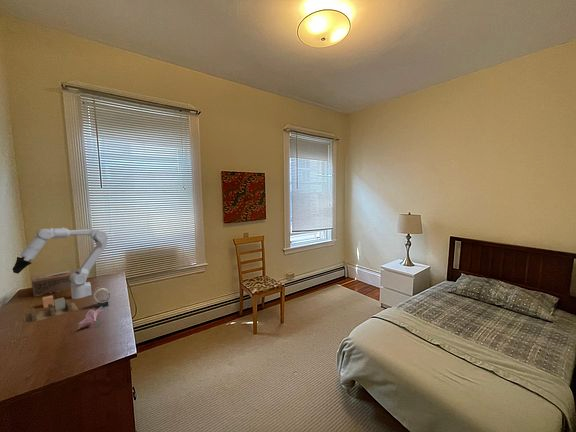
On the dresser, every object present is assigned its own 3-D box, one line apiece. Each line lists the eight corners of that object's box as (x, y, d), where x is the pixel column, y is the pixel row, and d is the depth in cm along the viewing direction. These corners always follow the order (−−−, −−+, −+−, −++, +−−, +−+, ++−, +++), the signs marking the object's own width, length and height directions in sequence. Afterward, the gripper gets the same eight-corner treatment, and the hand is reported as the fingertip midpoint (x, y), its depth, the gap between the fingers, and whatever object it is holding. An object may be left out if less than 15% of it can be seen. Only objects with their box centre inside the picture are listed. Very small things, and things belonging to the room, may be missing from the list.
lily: (108, 319, 124) (98, 304, 123) (114, 317, 117) (103, 301, 116) (82, 337, 115) (70, 321, 114) (86, 336, 107) (74, 319, 107)
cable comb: (73, 304, 140) (73, 297, 140) (78, 311, 132) (78, 304, 131) (23, 317, 125) (22, 310, 125) (25, 326, 116) (24, 318, 116)
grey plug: (64, 307, 134) (63, 297, 133) (65, 309, 131) (64, 299, 131) (54, 310, 131) (53, 299, 130) (55, 312, 128) (54, 301, 128)
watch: (112, 306, 137) (111, 288, 136) (94, 311, 131) (93, 291, 130) (111, 303, 141) (110, 285, 140) (94, 307, 135) (92, 289, 135)
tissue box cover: (82, 281, 180) (81, 268, 179) (86, 285, 171) (85, 272, 170) (32, 291, 161) (31, 277, 160) (34, 297, 151) (32, 282, 151)
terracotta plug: (53, 305, 139) (52, 295, 139) (54, 307, 137) (53, 297, 136) (43, 307, 136) (42, 297, 136) (44, 309, 134) (43, 299, 133)
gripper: (23, 244, 134) (4, 267, 129) (24, 246, 125) (5, 271, 120) (38, 249, 139) (21, 271, 134) (41, 251, 130) (23, 275, 124)
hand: (15, 271), depth 127 cm, fingers open, 7 cm apart
